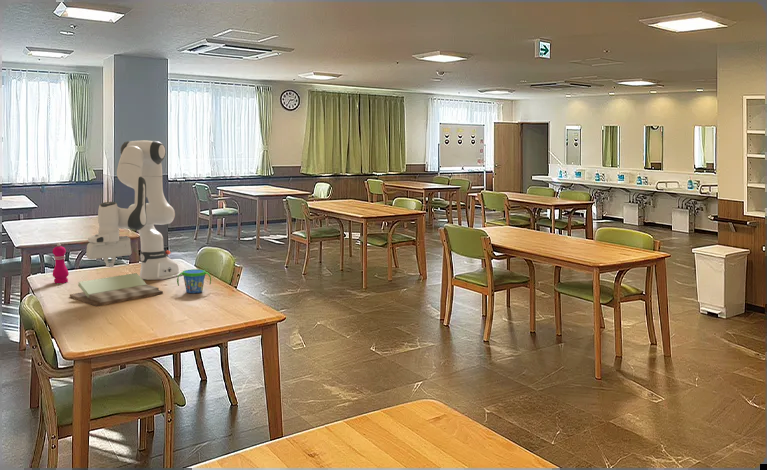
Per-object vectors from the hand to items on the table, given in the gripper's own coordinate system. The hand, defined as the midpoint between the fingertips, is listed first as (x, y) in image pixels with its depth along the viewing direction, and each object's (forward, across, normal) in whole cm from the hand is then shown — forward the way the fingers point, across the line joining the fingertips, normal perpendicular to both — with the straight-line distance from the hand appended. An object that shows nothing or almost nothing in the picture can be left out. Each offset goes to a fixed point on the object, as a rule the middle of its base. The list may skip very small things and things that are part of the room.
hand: (110, 266), depth 304 cm
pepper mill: (+13, +4, -42) cm, 44 cm away
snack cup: (+13, -29, +25) cm, 40 cm away
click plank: (+9, -1, +1) cm, 9 cm away
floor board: (+13, -1, +4) cm, 14 cm away
